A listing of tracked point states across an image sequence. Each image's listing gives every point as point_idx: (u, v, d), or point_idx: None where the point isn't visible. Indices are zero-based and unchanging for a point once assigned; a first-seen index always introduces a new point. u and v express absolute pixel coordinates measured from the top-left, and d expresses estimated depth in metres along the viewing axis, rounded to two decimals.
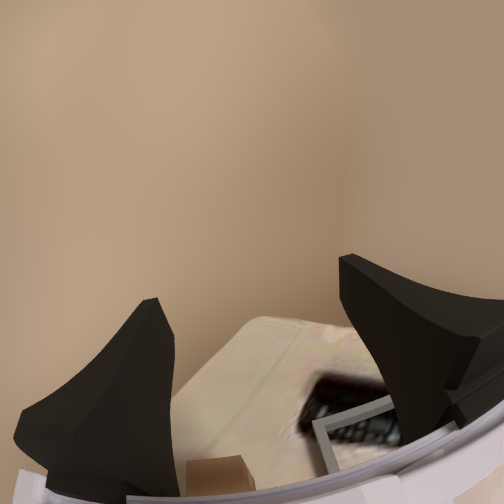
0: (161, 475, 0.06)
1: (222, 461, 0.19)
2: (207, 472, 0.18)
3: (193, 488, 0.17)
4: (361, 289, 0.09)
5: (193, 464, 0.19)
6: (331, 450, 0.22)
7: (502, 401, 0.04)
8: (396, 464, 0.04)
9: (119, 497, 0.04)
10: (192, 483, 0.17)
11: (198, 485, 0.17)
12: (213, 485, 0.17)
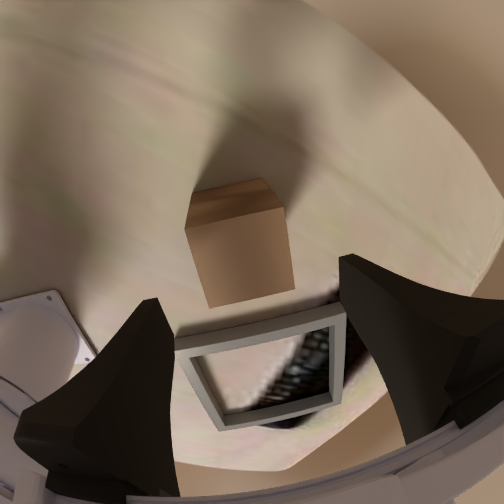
0: (161, 475, 0.06)
1: (283, 267, 0.14)
2: (261, 247, 0.14)
3: (223, 232, 0.13)
4: (361, 289, 0.09)
5: (276, 220, 0.13)
6: (297, 333, 0.23)
7: (502, 401, 0.04)
8: (396, 464, 0.04)
9: (119, 497, 0.04)
10: (234, 228, 0.13)
11: (231, 239, 0.13)
12: (235, 262, 0.14)
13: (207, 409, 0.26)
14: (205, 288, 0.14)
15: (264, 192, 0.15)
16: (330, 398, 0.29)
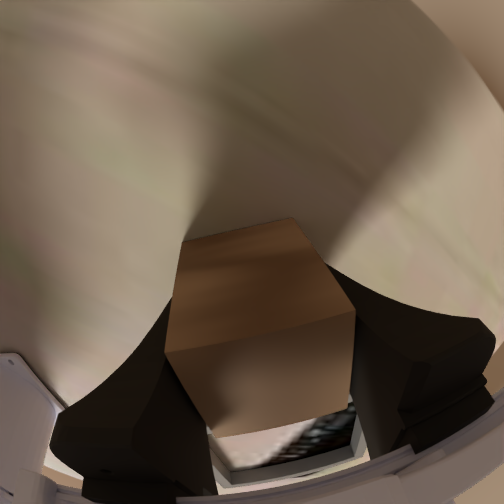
0: (203, 473, 0.06)
1: (337, 388, 0.08)
2: (306, 371, 0.07)
3: (240, 356, 0.07)
4: None
5: (338, 332, 0.07)
6: None
7: (468, 425, 0.04)
8: (396, 464, 0.04)
9: (170, 500, 0.04)
10: (260, 350, 0.07)
11: (254, 365, 0.07)
12: (259, 392, 0.07)
13: None
14: (208, 421, 0.08)
15: (306, 259, 0.09)
16: (351, 453, 0.22)
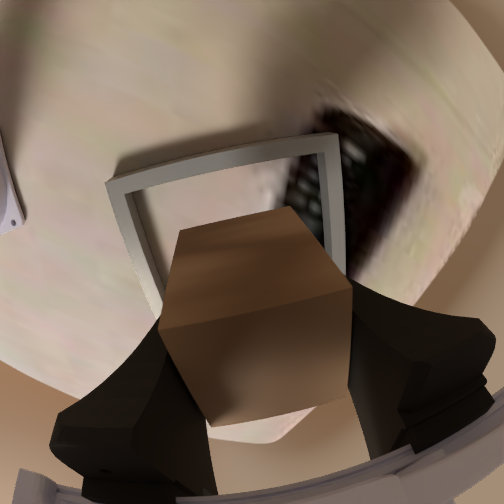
0: (203, 473, 0.06)
1: (335, 374, 0.08)
2: (303, 353, 0.07)
3: (235, 335, 0.07)
4: None
5: (335, 311, 0.07)
6: (272, 157, 0.16)
7: (468, 425, 0.04)
8: (396, 464, 0.04)
9: (170, 500, 0.04)
10: (255, 328, 0.07)
11: (249, 345, 0.07)
12: (255, 376, 0.07)
13: (152, 305, 0.20)
14: (203, 407, 0.08)
15: (302, 241, 0.09)
16: None
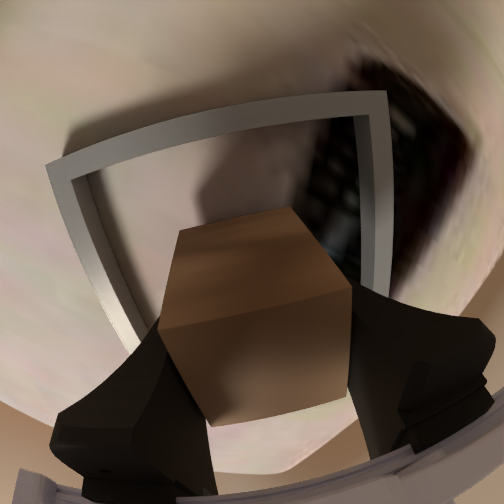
0: (203, 473, 0.06)
1: (335, 374, 0.08)
2: (302, 353, 0.07)
3: (234, 334, 0.07)
4: None
5: (335, 310, 0.07)
6: (293, 118, 0.10)
7: (468, 425, 0.04)
8: (396, 464, 0.04)
9: (170, 500, 0.04)
10: (255, 328, 0.07)
11: (249, 344, 0.07)
12: (255, 375, 0.07)
13: (123, 337, 0.13)
14: (203, 407, 0.08)
15: (302, 241, 0.09)
16: None
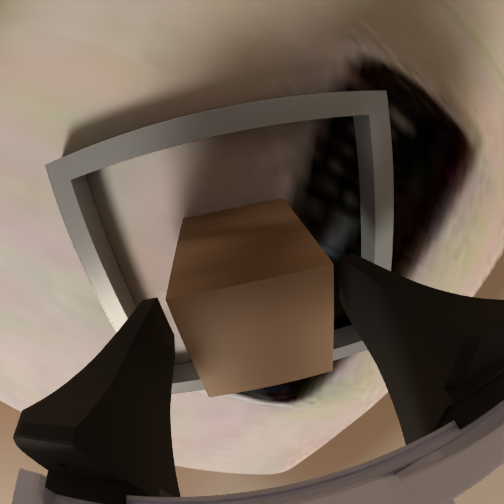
0: (161, 475, 0.06)
1: (321, 346, 0.09)
2: (291, 324, 0.08)
3: (232, 304, 0.08)
4: (361, 289, 0.09)
5: (319, 285, 0.08)
6: (293, 118, 0.10)
7: (502, 401, 0.04)
8: (396, 464, 0.04)
9: (119, 497, 0.04)
10: (249, 298, 0.08)
11: (245, 314, 0.08)
12: (249, 344, 0.09)
13: None
14: (202, 376, 0.09)
15: (293, 228, 0.10)
16: None
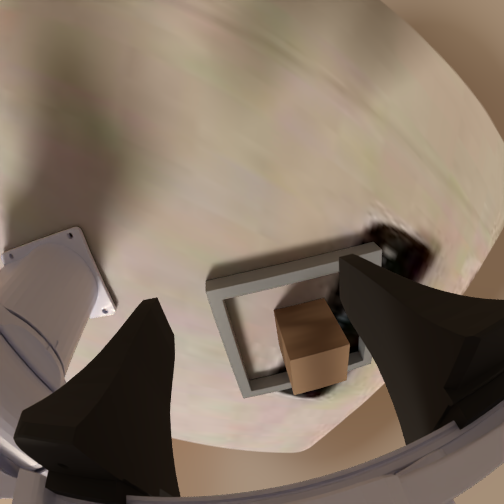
0: (161, 475, 0.06)
1: (342, 371, 0.21)
2: (332, 364, 0.21)
3: (313, 359, 0.20)
4: (361, 289, 0.09)
5: (344, 351, 0.20)
6: (335, 271, 0.22)
7: (502, 401, 0.04)
8: (396, 464, 0.04)
9: (119, 497, 0.04)
10: (319, 357, 0.20)
11: (316, 362, 0.20)
12: (316, 372, 0.21)
13: (234, 368, 0.26)
14: (294, 386, 0.21)
15: (332, 322, 0.22)
16: (360, 357, 0.28)
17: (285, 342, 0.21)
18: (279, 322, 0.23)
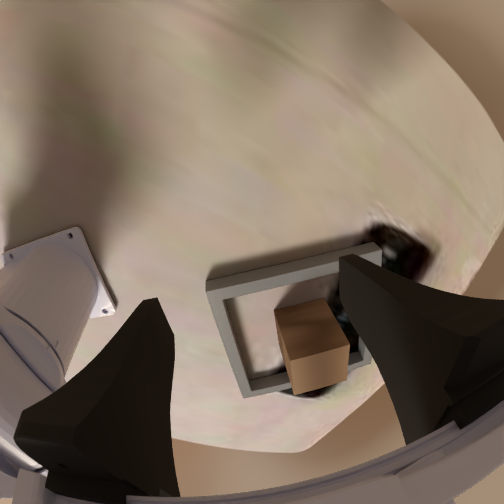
0: (161, 475, 0.06)
1: (342, 371, 0.21)
2: (332, 364, 0.21)
3: (313, 360, 0.20)
4: (361, 289, 0.09)
5: (344, 351, 0.20)
6: (335, 271, 0.22)
7: (502, 401, 0.04)
8: (396, 464, 0.04)
9: (119, 497, 0.04)
10: (319, 357, 0.20)
11: (316, 362, 0.20)
12: (316, 372, 0.21)
13: (234, 368, 0.26)
14: (294, 386, 0.21)
15: (332, 322, 0.22)
16: (360, 357, 0.28)
17: (285, 342, 0.21)
18: (279, 322, 0.23)
